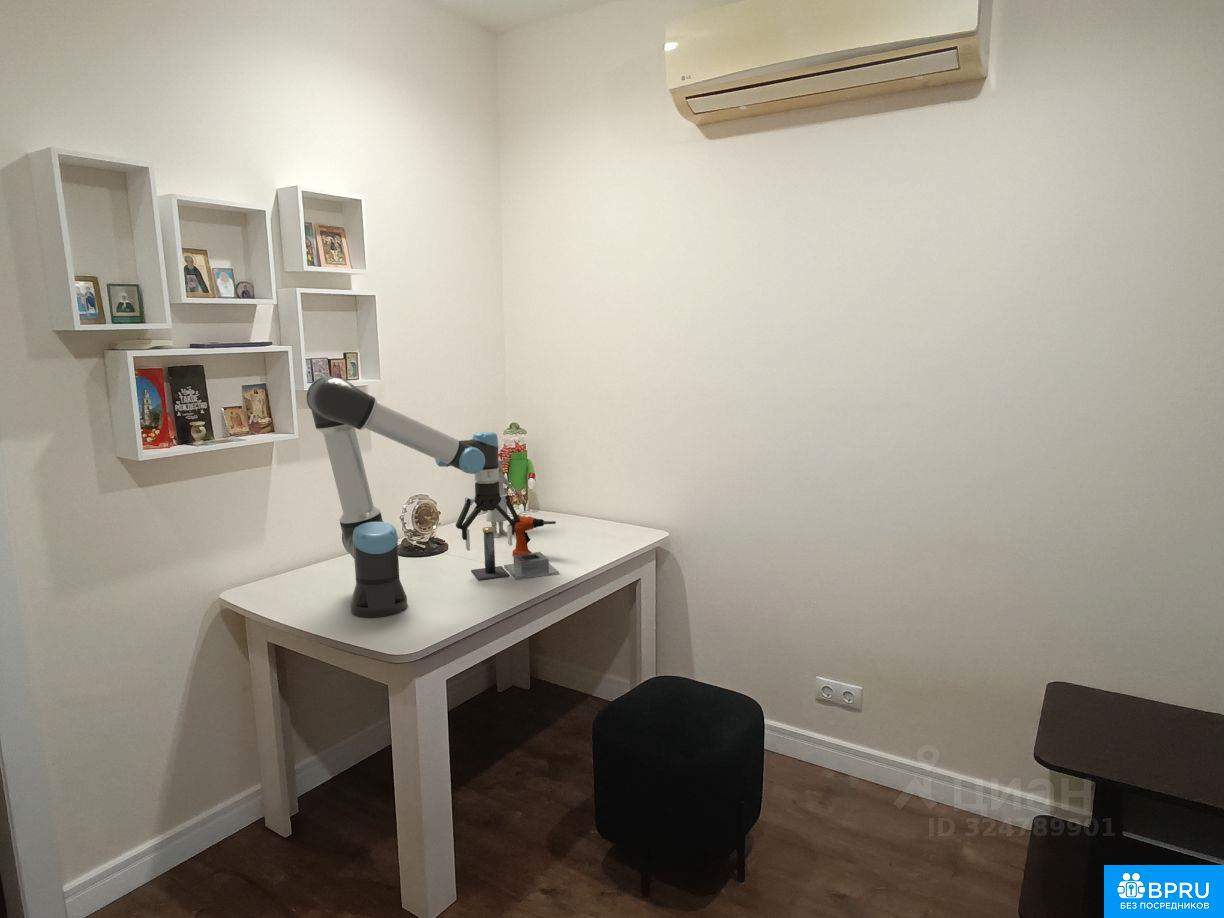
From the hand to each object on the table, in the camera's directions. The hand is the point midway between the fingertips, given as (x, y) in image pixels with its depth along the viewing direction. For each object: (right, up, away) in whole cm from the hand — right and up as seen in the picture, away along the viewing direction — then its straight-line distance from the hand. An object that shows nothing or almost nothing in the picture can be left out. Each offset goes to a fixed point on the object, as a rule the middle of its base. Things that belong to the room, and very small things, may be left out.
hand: (489, 547), depth 241 cm
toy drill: (+12, -6, +18) cm, 23 cm away
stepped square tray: (+13, -8, +5) cm, 16 cm away
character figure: (-4, -1, +48) cm, 48 cm away
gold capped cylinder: (0, -8, +1) cm, 8 cm away
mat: (0, -9, +1) cm, 9 cm away
